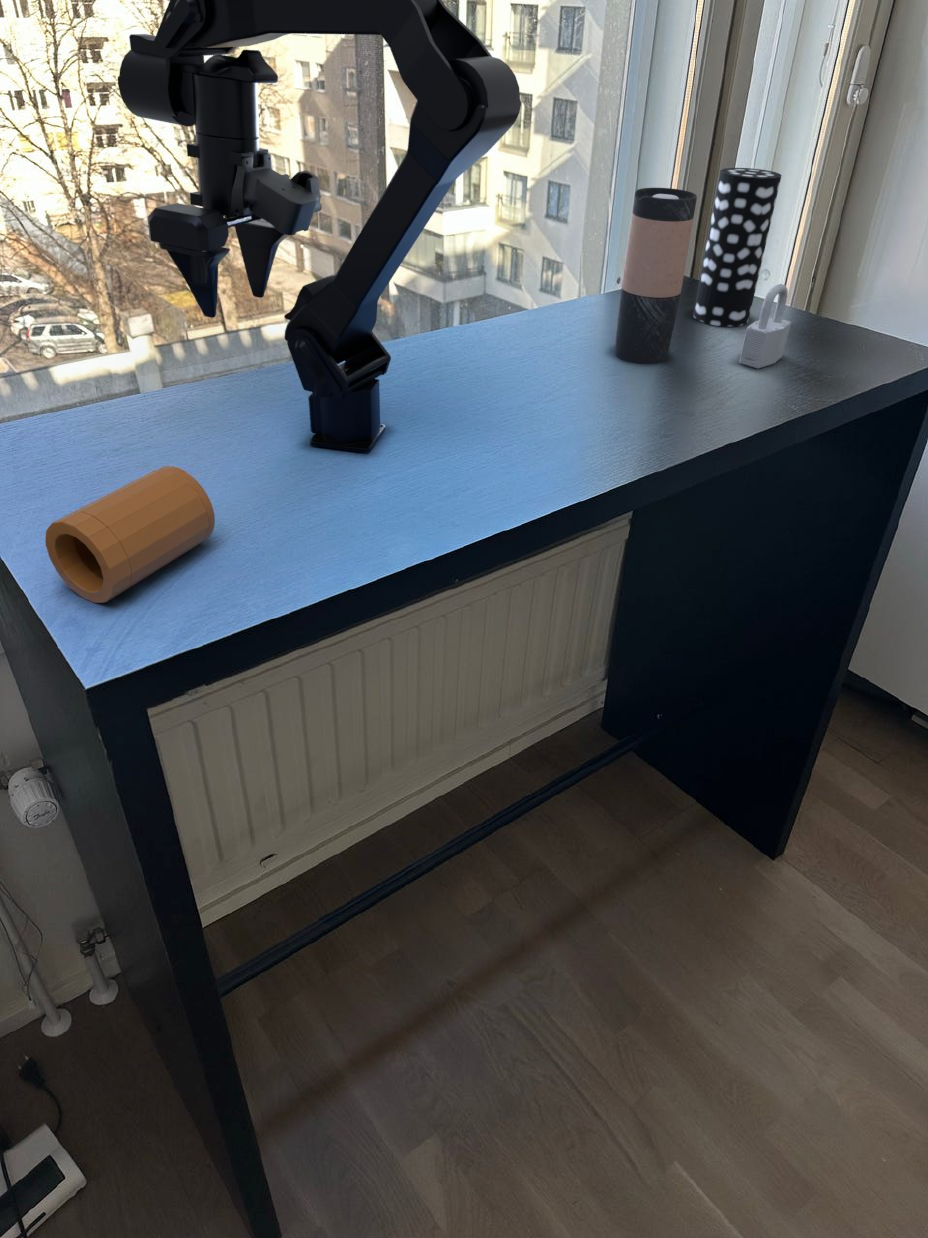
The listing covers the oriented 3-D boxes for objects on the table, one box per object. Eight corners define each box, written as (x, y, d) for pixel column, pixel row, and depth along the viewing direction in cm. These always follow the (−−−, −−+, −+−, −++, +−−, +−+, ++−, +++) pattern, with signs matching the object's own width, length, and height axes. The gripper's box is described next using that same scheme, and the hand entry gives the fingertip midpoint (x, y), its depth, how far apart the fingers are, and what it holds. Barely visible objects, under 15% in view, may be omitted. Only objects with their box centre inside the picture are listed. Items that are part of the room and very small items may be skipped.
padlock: (761, 370, 114) (780, 292, 108) (734, 362, 116) (751, 285, 110) (786, 358, 118) (806, 282, 112) (759, 351, 120) (777, 276, 114)
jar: (192, 460, 69) (82, 518, 61) (227, 537, 72) (126, 601, 64) (140, 470, 73) (31, 526, 65) (175, 543, 76) (74, 604, 68)
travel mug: (677, 353, 118) (707, 192, 106) (656, 369, 113) (684, 202, 101) (626, 341, 121) (649, 184, 109) (602, 356, 116) (624, 193, 104)
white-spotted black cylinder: (752, 315, 134) (785, 171, 122) (742, 330, 127) (776, 180, 116) (699, 306, 136) (726, 165, 125) (687, 320, 130) (714, 173, 118)
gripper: (251, 156, 71) (257, 345, 80) (350, 140, 86) (345, 301, 95) (135, 135, 73) (153, 322, 82) (251, 123, 88) (255, 282, 97)
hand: (235, 306), depth 89 cm, fingers open, 9 cm apart
